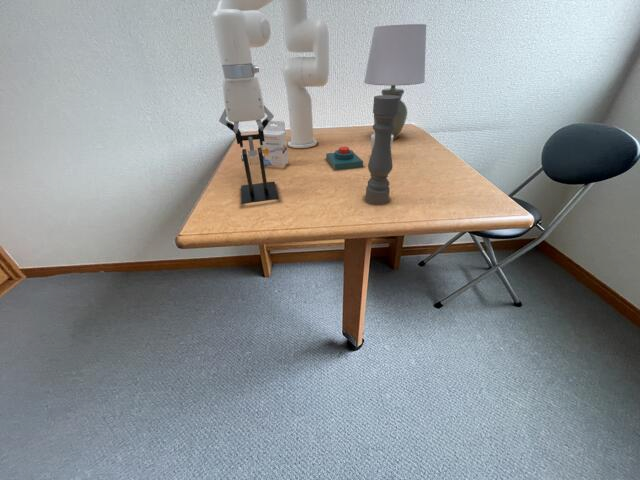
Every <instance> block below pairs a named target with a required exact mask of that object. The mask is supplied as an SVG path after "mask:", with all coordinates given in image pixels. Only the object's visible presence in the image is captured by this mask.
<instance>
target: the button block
mask: <svg viewBox="0 0 640 480" xmlns="http://www.w3.org/2000/svg"><path fill="white" fill-rule="evenodd" d="M325 159H326V161H327V162H328V164H329V165H330V166H331V167H332V168H333V170H334V171H340V170H341V171H343V170H349V169H350V170H352V169H358V168H363V167H364V160H363V159H362V158H360V156H358V155H357V154H356V153H355V152H354V151H353V150H352V149H349V153H348V154H340V153H339V149H337V150H335V151H334V152H326V153H325Z"/></svg>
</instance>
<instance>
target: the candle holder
mask: <svg viewBox="0 0 640 480" xmlns="http://www.w3.org/2000/svg"><path fill="white" fill-rule="evenodd" d="M399 103H400V96H395V95H382V94H381V95H375V96H374V97H373V107H372V113H373V119H374V118H375V121H376V123H375V124H374V123H373V125H372V130H373V131H374V134H375V141H374V147H373V150H372V153H370V156H369V160H368V163H367V169H368V172H369V174H370V178H369V180H367V186H365V201H366V202H367V203H369V204H371V205H378V206H379V205H384V204H386V203H388V202H389V199H390V190H391V188H390V181H389V179H388V177H389V174H390V173H391V172H392V170H393V166H394V165H393V158H392V157H393V156H392V147H391V146H390V144H391V135H392V132H393V130H394V129H395V125H394V124H393V121H394V120H395V118H396V117H397V113H398V111H399Z"/></svg>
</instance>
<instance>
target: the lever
mask: <svg viewBox="0 0 640 480" xmlns="http://www.w3.org/2000/svg"><path fill="white" fill-rule="evenodd" d="M241 139H242V142H247V141H248V145H249V150H247V157H248V162H249V166H252V165H259V157H258V151H257V150H255V146H254V141H256V140H258V139H259V134H258V133H256V134H255V133H254V134H243V135H242V134H241Z"/></svg>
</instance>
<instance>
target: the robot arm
mask: <svg viewBox="0 0 640 480" xmlns="http://www.w3.org/2000/svg"><path fill="white" fill-rule="evenodd" d="M272 2H273V0H219V1H218V3H217V6H216V9H215V10H214V11H213V12H212V16H211V19H212V26H213V32H214V36H215V39H216V45H217V49H218V54H219V58H220V59H219V60H220V63H221V69H222V73H223V78H224V79H221V88H222V95H223V96H222V97H223V102H224V109H223V111H222V113H221V115H220V117H219V120H218V121H219V123H221V124H222V125H224V126H225V127H227V128H228V129H229V130H231V132H233V133H234V134H235V139H236V144H237V145H239V147H240V148H243V147H244V143H243V142H244V141H242V139H241V136H242V132H241V130H240V128H239V125H240V123H241V122H242V123H243V122H251V121H255V122H256V125H257V128H258V129H257V134H258V133H259V140H260V145H263V141H265V140H264V133H263V130H264V128H265V127H266V126H267V124H268V123H269V122H270V121H273V120H272V119H274V117H275V115H274V114H273V113H272V112H271V111H270V110H269V108H268V107H266V105H265V104H264V100H263V99H264V98H263V93H262V90H261V85H260V82H259V79H258V77H255V74H257V73H260V66H259V65H258V66H256V65H255V64H253V58H252V51H251V49H252V48H261V47H264V46H265V45H267V43H269V41H270V39H271V33H272V32H271V31H272V30H271V25H270V22H269V20H268V18H267V16H266V15H265V14H264V13H263V12H261V11H259V10H260V9H262V8H264V7H266V6H267V5H269V4H270V3H272ZM280 4H281V12H282V26H283V27H282V28H283V38H284V39H283V40H284V45H285V48H286V50H287V51H289V52H291V53H301V54H303V53H313V54H314V56H295V57H294V56H293V57H289V58H287V59H286V60H284V62H283V63H282V69H281V71H282V77H283V81H284V86H285V90H286V96H287V107H288V109H287V110H288V119H289V131H290V132H289V133H290V140H289V141H287V147H290V148H293V149H309V148H313V147H315V146H317V144H318V140H317V139H315V138H314V128H313V127H314V125H313V107H312V106H313V103H312V96H311V95H310V93H309V91H308V90H307V88H308V87H309V88H310V87H311V88H314V87H315V88H316V87H317V88H319V87H320V88H321V87H324V86H327V84H328V81H329V78H330V77H329V75H330V35H329V29H328V25H327V23H326V21H325V20H324V19H322V18H317V17H316V18H308V9H307V8H308V4H307V0H280ZM265 116H266V117H265ZM239 122H240V123H239ZM259 140H258V141H259Z"/></svg>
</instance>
